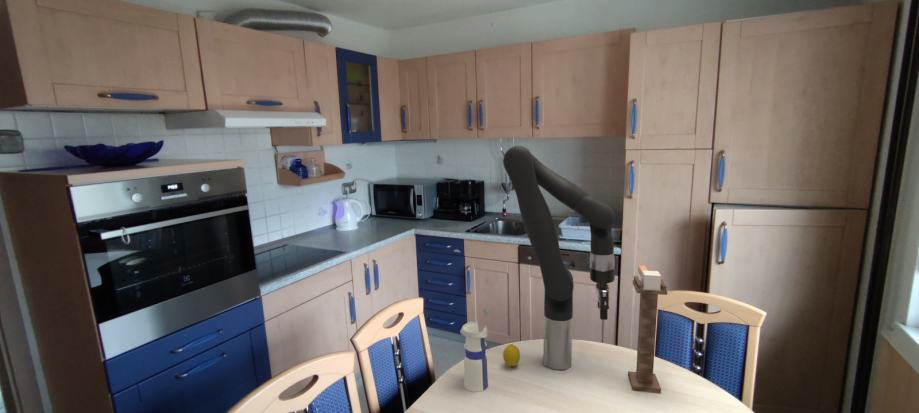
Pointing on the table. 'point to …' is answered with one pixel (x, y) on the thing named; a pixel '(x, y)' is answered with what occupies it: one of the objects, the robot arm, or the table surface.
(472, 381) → the white and blue pitcher
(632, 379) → the tall stand
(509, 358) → the lemon
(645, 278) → the plug rod
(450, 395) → the table surface
